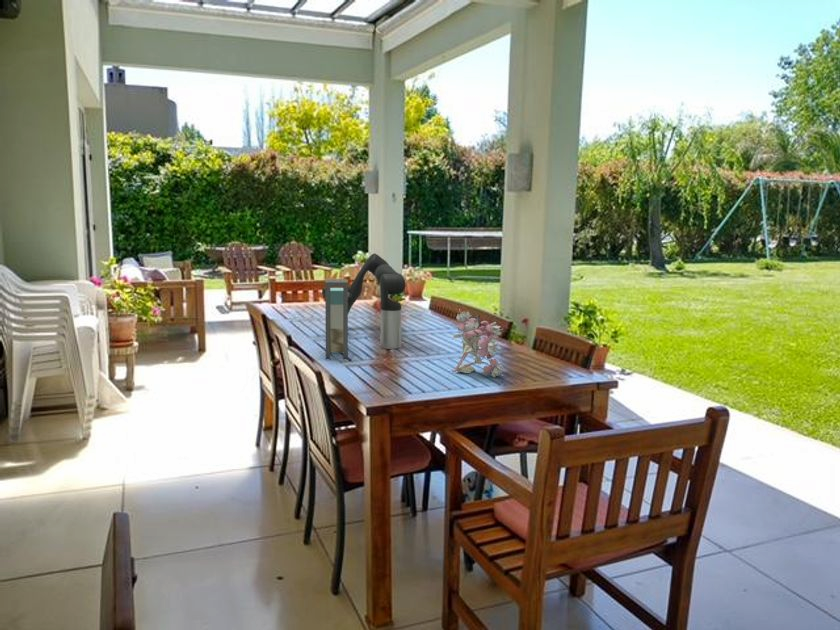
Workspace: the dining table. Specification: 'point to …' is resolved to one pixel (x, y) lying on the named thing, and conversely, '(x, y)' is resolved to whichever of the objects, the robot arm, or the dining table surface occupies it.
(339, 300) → the handle block
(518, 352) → the dining table surface
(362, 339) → the dining table surface
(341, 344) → the tower base block
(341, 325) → the tower top block
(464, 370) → the flower
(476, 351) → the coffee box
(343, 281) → the stand
